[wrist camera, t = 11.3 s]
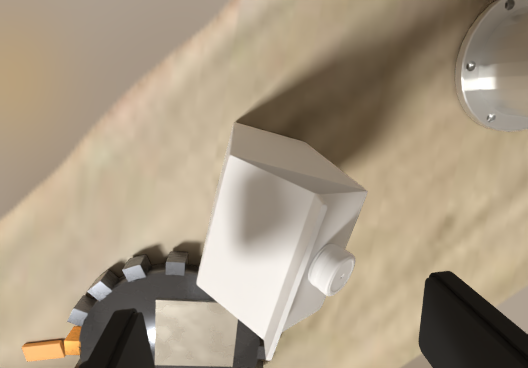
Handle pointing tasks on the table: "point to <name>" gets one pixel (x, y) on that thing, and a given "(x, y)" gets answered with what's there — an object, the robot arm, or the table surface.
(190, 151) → the table surface
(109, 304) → the sprocket
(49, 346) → the block
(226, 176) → the milk carton
